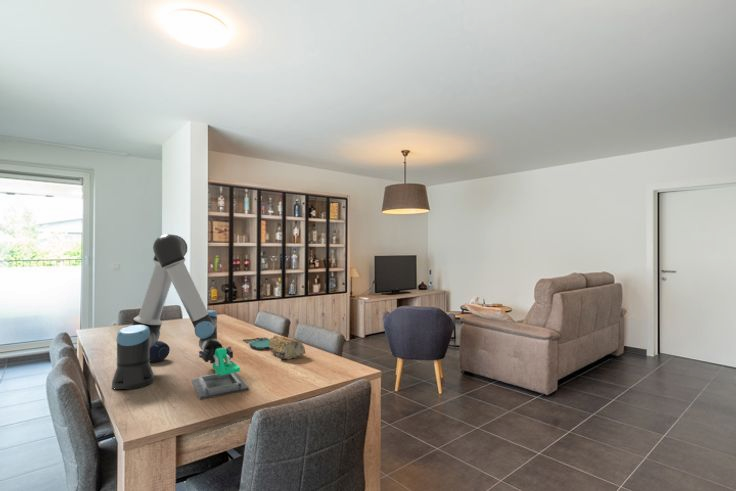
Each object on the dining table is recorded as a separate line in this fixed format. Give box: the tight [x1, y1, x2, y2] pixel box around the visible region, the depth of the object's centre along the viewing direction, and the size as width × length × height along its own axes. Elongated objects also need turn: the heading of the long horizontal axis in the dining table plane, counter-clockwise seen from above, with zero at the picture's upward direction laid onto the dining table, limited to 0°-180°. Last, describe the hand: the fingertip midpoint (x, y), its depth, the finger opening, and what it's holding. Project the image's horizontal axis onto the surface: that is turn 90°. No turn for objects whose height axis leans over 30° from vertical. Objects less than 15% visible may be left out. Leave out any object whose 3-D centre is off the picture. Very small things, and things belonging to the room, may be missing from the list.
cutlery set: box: [242, 337, 271, 350], centre depth 222 cm, size 20×30×2 cm, turn 36°
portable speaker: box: [149, 340, 170, 363], centre depth 191 cm, size 25×10×10 cm, turn 73°
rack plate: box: [191, 372, 249, 400], centre depth 155 cm, size 18×22×2 cm
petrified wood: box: [269, 334, 306, 360], centre depth 198 cm, size 19×13×10 cm
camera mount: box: [212, 347, 241, 376], centre depth 156 cm, size 12×8×10 cm, turn 39°
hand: (223, 361), depth 151 cm, fingers closed on camera mount, 4 cm apart
